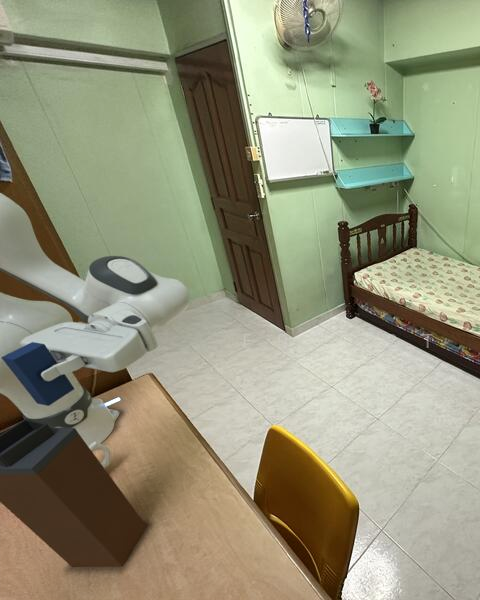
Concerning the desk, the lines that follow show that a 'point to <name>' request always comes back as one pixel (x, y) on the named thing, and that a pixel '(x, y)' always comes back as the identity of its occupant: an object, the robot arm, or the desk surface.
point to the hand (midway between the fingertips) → (32, 375)
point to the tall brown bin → (66, 495)
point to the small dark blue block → (26, 367)
